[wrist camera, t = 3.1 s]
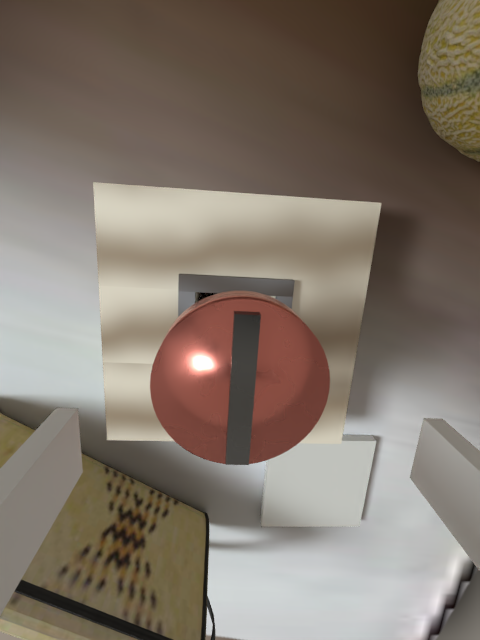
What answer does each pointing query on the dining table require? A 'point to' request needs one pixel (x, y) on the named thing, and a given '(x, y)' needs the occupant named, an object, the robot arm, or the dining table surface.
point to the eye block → (224, 281)
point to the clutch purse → (112, 562)
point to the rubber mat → (318, 484)
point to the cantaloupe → (453, 74)
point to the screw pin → (239, 379)
